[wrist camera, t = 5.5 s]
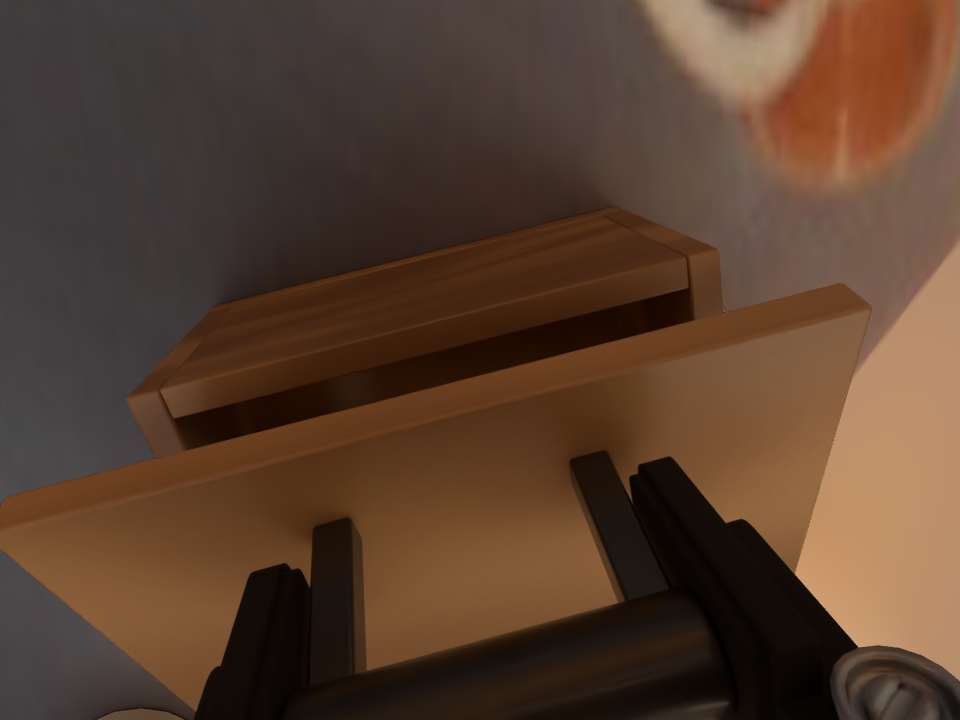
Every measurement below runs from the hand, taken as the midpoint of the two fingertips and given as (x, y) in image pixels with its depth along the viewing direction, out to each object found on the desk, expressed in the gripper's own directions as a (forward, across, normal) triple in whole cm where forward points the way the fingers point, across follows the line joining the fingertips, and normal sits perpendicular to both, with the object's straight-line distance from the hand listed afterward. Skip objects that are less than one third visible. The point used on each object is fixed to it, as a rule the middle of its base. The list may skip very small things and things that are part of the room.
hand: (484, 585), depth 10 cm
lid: (+3, 0, +4) cm, 5 cm away
